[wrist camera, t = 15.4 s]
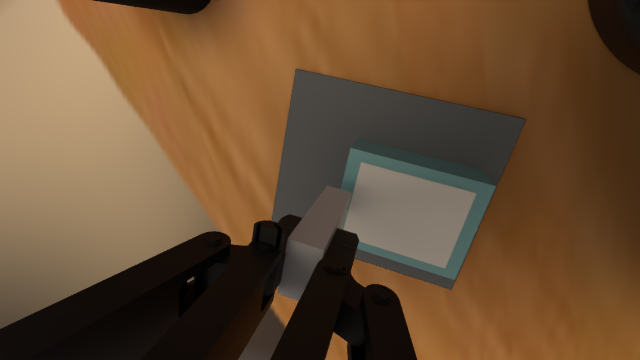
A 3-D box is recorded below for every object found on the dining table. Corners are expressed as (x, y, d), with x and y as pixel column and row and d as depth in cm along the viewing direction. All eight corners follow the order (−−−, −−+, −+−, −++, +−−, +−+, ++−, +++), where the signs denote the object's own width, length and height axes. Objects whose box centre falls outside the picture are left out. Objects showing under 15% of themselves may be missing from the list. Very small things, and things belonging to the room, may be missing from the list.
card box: (327, 240, 22) (455, 281, 21) (350, 148, 20) (496, 187, 18) (338, 219, 26) (448, 253, 24) (358, 138, 23) (482, 170, 21)
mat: (297, 69, 23) (295, 69, 23) (523, 118, 20) (526, 119, 20) (271, 229, 28) (270, 231, 28) (450, 286, 25) (451, 289, 25)
